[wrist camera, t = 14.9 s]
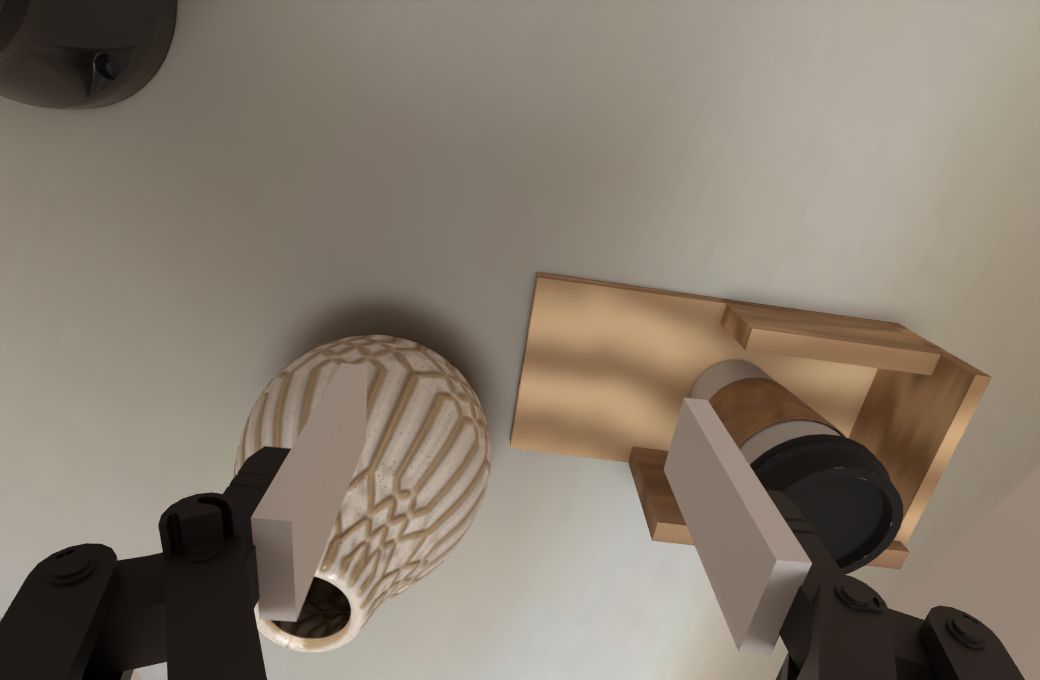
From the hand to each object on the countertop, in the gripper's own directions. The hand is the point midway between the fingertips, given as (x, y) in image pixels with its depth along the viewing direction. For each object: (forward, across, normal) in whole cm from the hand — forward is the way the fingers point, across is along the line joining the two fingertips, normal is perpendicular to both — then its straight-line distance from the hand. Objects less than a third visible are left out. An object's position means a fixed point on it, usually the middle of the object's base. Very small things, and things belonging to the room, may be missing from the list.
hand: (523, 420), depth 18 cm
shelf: (+23, +15, -10) cm, 30 cm away
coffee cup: (+22, +18, -10) cm, 30 cm away
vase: (+24, -8, -14) cm, 29 cm away
